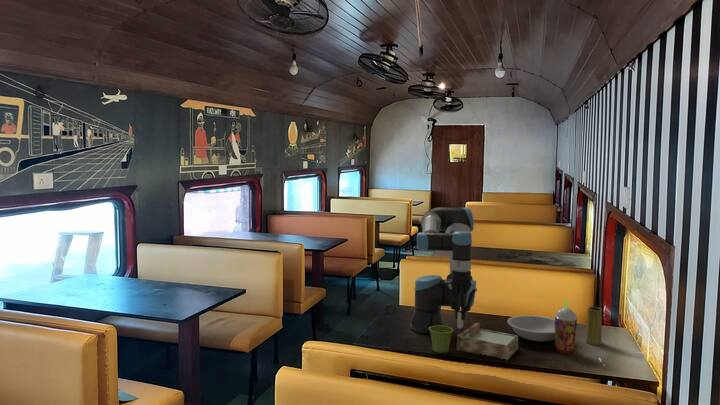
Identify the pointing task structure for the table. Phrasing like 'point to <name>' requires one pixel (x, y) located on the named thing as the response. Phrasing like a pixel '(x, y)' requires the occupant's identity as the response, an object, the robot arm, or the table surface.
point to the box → (486, 345)
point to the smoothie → (565, 330)
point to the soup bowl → (533, 327)
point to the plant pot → (440, 338)
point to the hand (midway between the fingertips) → (460, 327)
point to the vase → (594, 326)
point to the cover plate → (488, 335)
